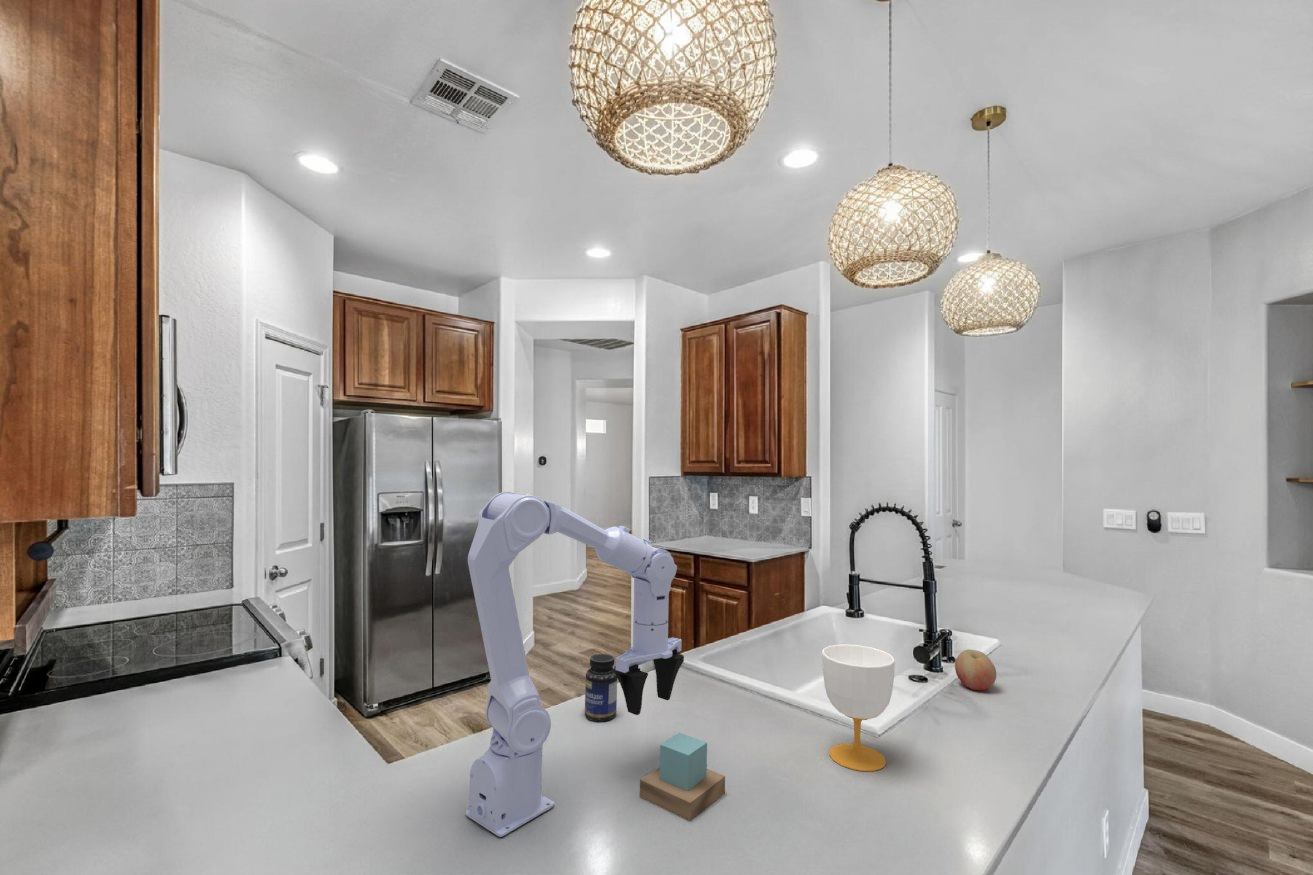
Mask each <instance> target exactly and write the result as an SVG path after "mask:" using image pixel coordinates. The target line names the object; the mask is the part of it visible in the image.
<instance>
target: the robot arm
mask: <svg viewBox="0 0 1313 875" xmlns="http://www.w3.org/2000/svg"><path fill="white" fill-rule="evenodd" d="M630 532H631V529H630V528H628V527H627V526H623V525H619V526H611V527H608V528H606V529H604V528H602V527H600V526H598V525H596V524H595V523H593V522H591V521H589V520H588V519H586V518H584V517H582V516H580V515H578V514H577V513H575V512H574V511H571V510H569V509H568V508H567V507H564V506H562V505H561V504H557V503H555V502H552V501H549V500H543V499H542V498H540V497H539V496H536V495H533V494H527V495H526V494H525V495H524V494H517V493H514V492H511V491H502V492H499V493H497V494H495V495H493V496H492V497H491V498H490V499H489V500H488V502H487V503H486V504H485V505H484V506H483V508H482V509H481V510H480V511H479V513H478V525H477V528H476V531H475V533H474V536H473V540H472V542H471V546H470V548H469V552H468V555H467V565H468V571H469V575H470V579H471V585H472V590H473V595H474V600H475V606H476V611H477V615H478V622H479V627H480V630H481V637H482V641H483V647H484V651H485V656H486V661H487V666H488V671H489V675H490V676H489V678H490V681H489V682H488V684H487V686H486V688H487V695H488V696H487V697H488V698H487V702H486V707H485V718H486V719H485V720H486V721H487V723H488V724H489V726H490V727H492V733H491V738H490V742H489V743H490V744H489V747H488V749H487V750H486V751H485V752H484V753H483V755H480V757H479V758H477V759H476V760H475V761H473V763H472V765H471V768H470V774H469V795H468V796H469V798H468V799H469V800H468V801H469V802H468V803H469V804H468V809H466V811H465V816H466V817H467V818H470V819H471V820H473V821H474V822H476V823H477V824H479V825H480V826H482V827H483V828H485V829H486V830H487V831H489V832H491V833H493V834H494V835H496V837H499V838H501V837H502V838H503V837H504V836H506V835H508V834H509V833H511V832H512V831H514V830H516V829H518V828H519V827H521V826H523V825H524V824H527V822H530V821H531V820H533V819H534V818H537V817H538V816H540V815H541V814H544V813H545V812H547V811H549V810H550V809H552V808H553V807H554V806H555V801H553V800H552V799H550V798H548V797H546V796H544V795H542V789H543V788H542V784H543V783H542V782H543V779H542V778H543V749H544V748H543V745H544V743H545V742H546V741H547V739H548V737H549V735H550V732H551V728H552V727H551V726H552V721H551V716H550V714H549V713H548V710H546V708H545V707H544V706H543V704H542V702H541V699H540V694H539V692H538V690H537V688H536V687H537V686H535V684H534V682H533V680H532V677H531V675H530V672H529V671H530V670H529V667H528V662H527V661H528V660H527V656H526V651H525V646H524V642H523V636H522V630H521V625H520V621H519V620H520V619H519V615H518V611H517V604H516V600H515V594H514V588H513V584H512V578H511V574H510V565H511V564H512V563H513V562H514V560H515V559H516V558H517V556H518V555H519V553H521V552H522V551H523V550H525V549H526V548H527V547H528V546H530V545H531V544H533V543H534V542H535V541H537V539H539V538H540V537H541V536H543V534H545V535H553V534H556V533H559V534H561V535H563V536H566V537H568V538H571V539H572V540H575V541H578V542H580V543H582V544H584V545H587V546H589V547H592V548H594V550H595V553H596V556H597V558H598V560H600V561H601V562H603V563H605V564H608V565H610V566H611V567H614V568H617V569H618V570H620V571H623V572H625V573H627V574H629V576H630V577H631V578H632V579H634V580H633V624H632V625H633V627H632V646H631V647H630V648H629V649H627V650H626V651H625V652H623V653H622V654H621V655H618V656H617V657H615V664H614V665H613V668H614V673H615V675H616V676H617V681H618V682H619V684H620V686H621V690H622V692H623V693H622V694H623V697H624V701H625V704H626V708H627V713H631V714H632V715H635V716H638V715H640V714H641V711H642V705H643V703H642V702H643V693H644V687H645V685H646V680H647V679H648V676H649V673H648V672H646V671H642V670H641V668H640V667H639V666H640V665H643V664H646V663H648V662H651V661H653V664H654V671H655V674H656V675H655V676H656V677H655V678H656V692H657V693H656V696H657V698H659V699H662V700H665V701H669V700H670V699H671V696H672V692H673V688H674V684H675V680H676V678H677V675H678V673H679V670H680V668H681V667H682V665H683V663H684V661H685V655H684V654H682V653H681V654H680V653H679V652H681V651H682V639H681V638H677V637H669V604H670V603H669V602H670V601H669V600H670V598H669V597H670V595H669V594H670V592H671V589H672V588H671V585H672V582H673V580H674V578H675V576H676V573H677V569H678V565H676V564H675V561H674V557H673V556H672V554H671V553H670V551H668V550H666V549H664V548H659V547H654V546H652V541H651V540H649V539H647V538H643V539H641V538H639V537H637V536H635V535H633V534H632V533H630Z"/></svg>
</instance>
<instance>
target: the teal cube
mask: <svg viewBox="0 0 1313 875" xmlns="http://www.w3.org/2000/svg"><path fill="white" fill-rule="evenodd" d="M707 761H708V742H707V741H704V740H701V739H698V738H696V737H694V736H693V737H692V736H691V735H688V734H686V733H685V734H684V733H681V732H678V733H676V734H675V735H673V736H672V737H670V738H668V739H667V740H665V741H663V742H662V743H661V744H660V745H659V767H660V775H659V779H660V780H662V781H664V782H667V783H669V784H671V785H674V786H676V787H679V788H681V789H683V790H686V791H689V790H690V789H692V788H693V787H694V786H695V785H697V784H698V783H699V782H700V781H702V780H703V779H704V778H705V777H706V775H707V769H708V767H707V766H708V765H707V763H708V762H707Z"/></svg>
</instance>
